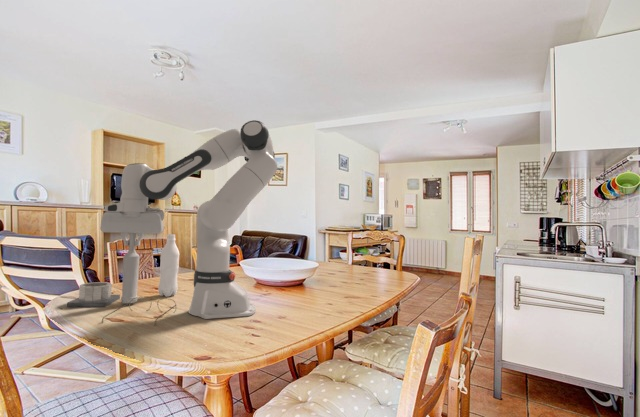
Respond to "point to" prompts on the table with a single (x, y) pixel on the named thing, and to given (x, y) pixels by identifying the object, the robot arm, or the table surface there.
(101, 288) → the collar holder
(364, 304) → the table surface
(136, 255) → the bottle
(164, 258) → the water bottle
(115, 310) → the eyeglasses
